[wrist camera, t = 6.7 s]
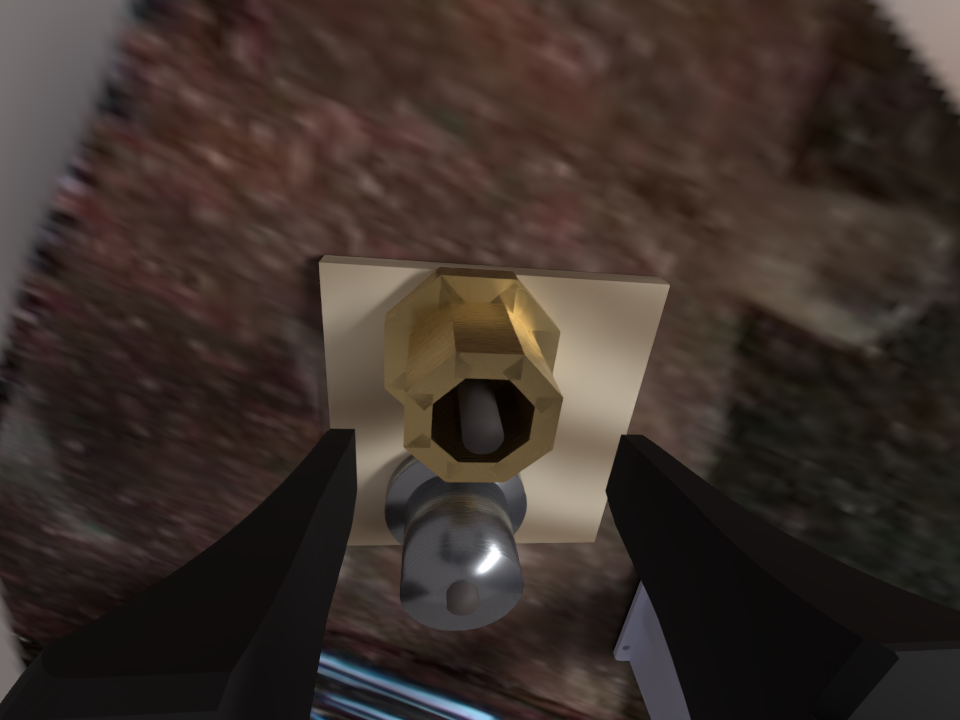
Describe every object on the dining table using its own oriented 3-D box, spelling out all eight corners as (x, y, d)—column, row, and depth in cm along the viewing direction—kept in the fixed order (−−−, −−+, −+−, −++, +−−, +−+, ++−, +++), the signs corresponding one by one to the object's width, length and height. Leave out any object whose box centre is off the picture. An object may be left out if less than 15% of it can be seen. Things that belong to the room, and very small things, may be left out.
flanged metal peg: (513, 542, 23) (533, 641, 19) (386, 544, 22) (375, 647, 18) (532, 441, 20) (560, 530, 16) (386, 439, 19) (373, 532, 15)
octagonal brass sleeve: (536, 418, 20) (567, 503, 15) (386, 414, 19) (373, 503, 14) (562, 274, 17) (609, 328, 12) (386, 263, 16) (370, 316, 12)
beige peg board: (588, 527, 25) (636, 649, 19) (341, 529, 23) (312, 664, 17) (658, 276, 18) (762, 347, 13) (324, 255, 17) (269, 324, 11)
